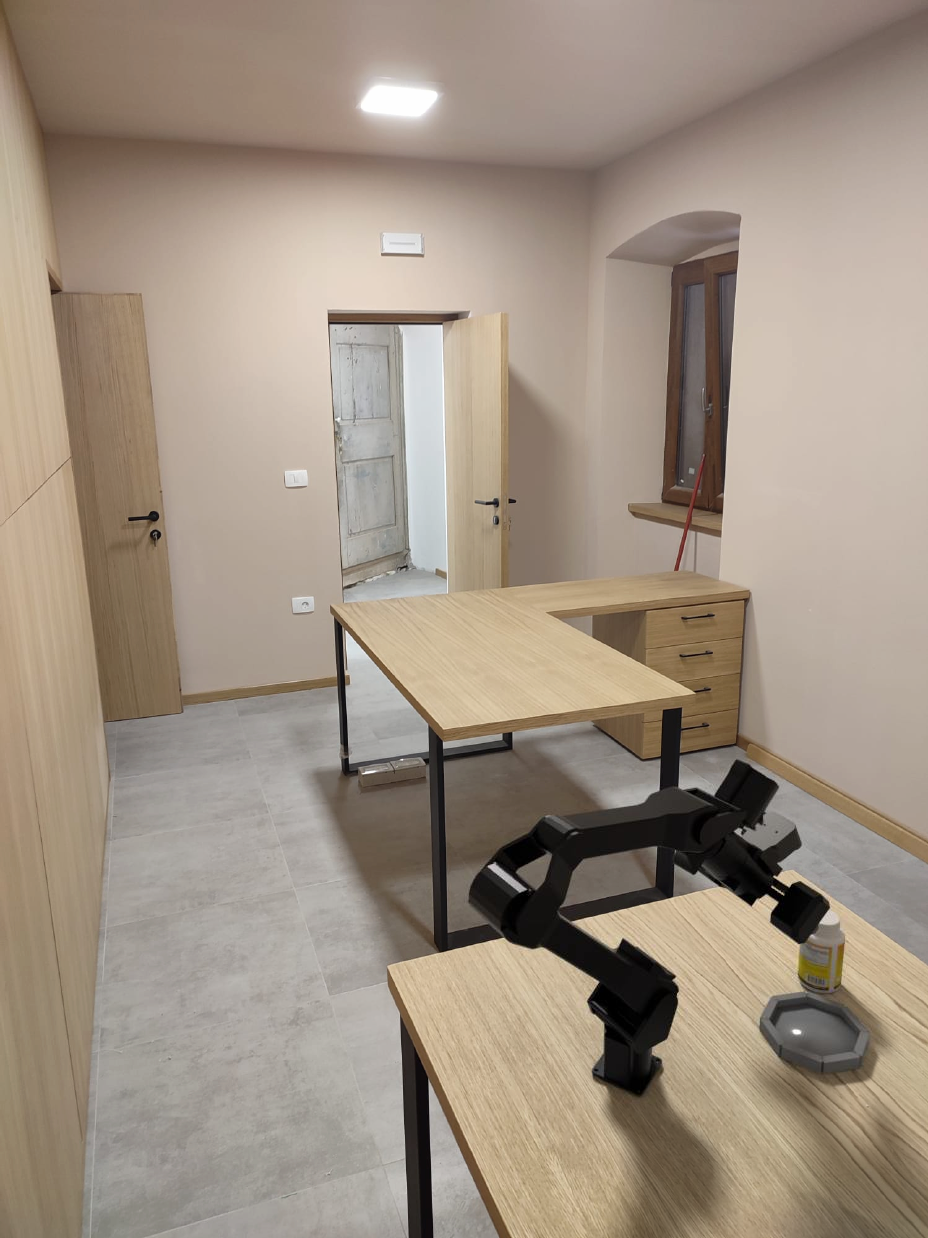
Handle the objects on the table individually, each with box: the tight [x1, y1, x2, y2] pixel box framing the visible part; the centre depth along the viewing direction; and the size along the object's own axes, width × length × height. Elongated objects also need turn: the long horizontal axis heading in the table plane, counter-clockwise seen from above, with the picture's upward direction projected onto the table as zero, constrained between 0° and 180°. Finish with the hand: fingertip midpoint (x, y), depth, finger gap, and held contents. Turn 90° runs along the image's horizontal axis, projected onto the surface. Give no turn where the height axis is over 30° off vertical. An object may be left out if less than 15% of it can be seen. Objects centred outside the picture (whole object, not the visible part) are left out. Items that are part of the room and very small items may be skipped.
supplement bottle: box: [797, 909, 846, 994], centre depth 117 cm, size 6×6×10 cm
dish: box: [758, 990, 871, 1075], centre depth 108 cm, size 12×12×2 cm
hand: (788, 911), depth 112 cm, fingers open, 9 cm apart
